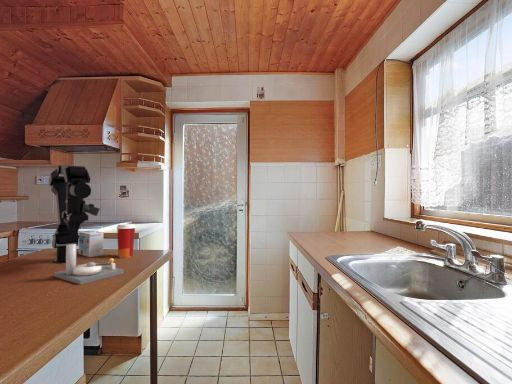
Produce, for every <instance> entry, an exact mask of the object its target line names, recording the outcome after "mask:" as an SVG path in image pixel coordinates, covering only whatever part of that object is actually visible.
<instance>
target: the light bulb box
mask: <svg viewBox="0 0 512 384" xmlns="http://www.w3.org/2000/svg"><path fill="white" fill-rule="evenodd" d="M78 235H79V240H78V254H79V255H82V256H84V257H88V258H93V257H99V256H103V255H104V232H101V231H97V230H92V229H91V230H82V231H78Z"/></svg>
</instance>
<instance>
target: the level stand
mask: <svg viewBox="0 0 512 384" xmlns="http://www.w3.org/2000/svg"><path fill="white" fill-rule="evenodd" d="M107 263H111V265H103V266H102V271H101V272H100V273H97V274H93V275H85V276H77V275H73V274H71V275H67V274H66V269H65V270H59V271H54V272H53V277H55V278H58V279H61V280H64V281H67V282H70V283H73V284H77V285H83V284H88V283H91V282H96V281H100V280H103V279H108V278H111V277H115V276H118V275H122V274H124V272H125V271H124V268H120V267H119V268H118V267H116V263H115V259H114V258H112V257H111V258H109V259H108V262H107ZM97 264H99V263H97Z"/></svg>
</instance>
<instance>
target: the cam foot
mask: <svg viewBox="0 0 512 384" xmlns="http://www.w3.org/2000/svg"><path fill="white" fill-rule="evenodd" d="M103 265H111V263H108V262H102V263H98V264H97V263H96V262H94V261H89V262H86V263H82V264H77V246H76V244H73V243H72V244H67V245H66V262H65V270H66V274H67V275H71V274H73V275H77V276H85V275H93V274H97V273H100V272H101V271H102V266H103Z"/></svg>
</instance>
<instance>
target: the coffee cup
mask: <svg viewBox="0 0 512 384" xmlns="http://www.w3.org/2000/svg"><path fill="white" fill-rule="evenodd" d="M136 228H137V227H136V225H135V223H118V224H117V226H116V229H117V232H116V233H117V251H118V252H117V254H118V259H129V258H132V257H133V256H134V246H135V245H134V243H135V235H136V234H135V232H136Z"/></svg>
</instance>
